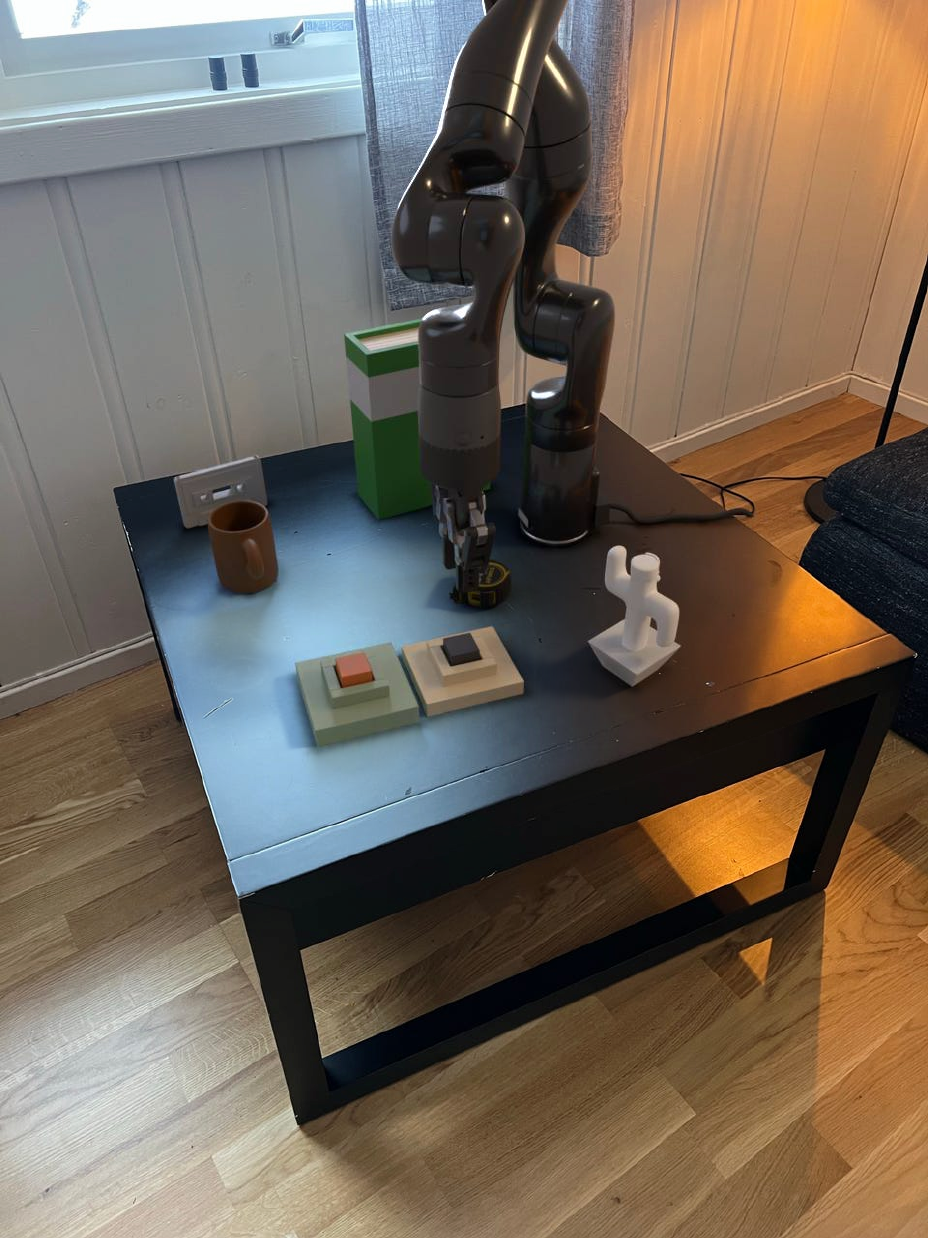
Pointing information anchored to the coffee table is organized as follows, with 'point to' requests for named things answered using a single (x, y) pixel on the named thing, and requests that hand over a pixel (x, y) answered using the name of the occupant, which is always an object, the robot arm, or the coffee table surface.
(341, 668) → the key
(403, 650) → the beige push button
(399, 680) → the green stepped square block
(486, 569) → the tape measure
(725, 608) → the coffee table surface
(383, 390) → the hardback book
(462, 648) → the key
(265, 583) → the mug
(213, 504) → the cassette
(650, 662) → the figurine
